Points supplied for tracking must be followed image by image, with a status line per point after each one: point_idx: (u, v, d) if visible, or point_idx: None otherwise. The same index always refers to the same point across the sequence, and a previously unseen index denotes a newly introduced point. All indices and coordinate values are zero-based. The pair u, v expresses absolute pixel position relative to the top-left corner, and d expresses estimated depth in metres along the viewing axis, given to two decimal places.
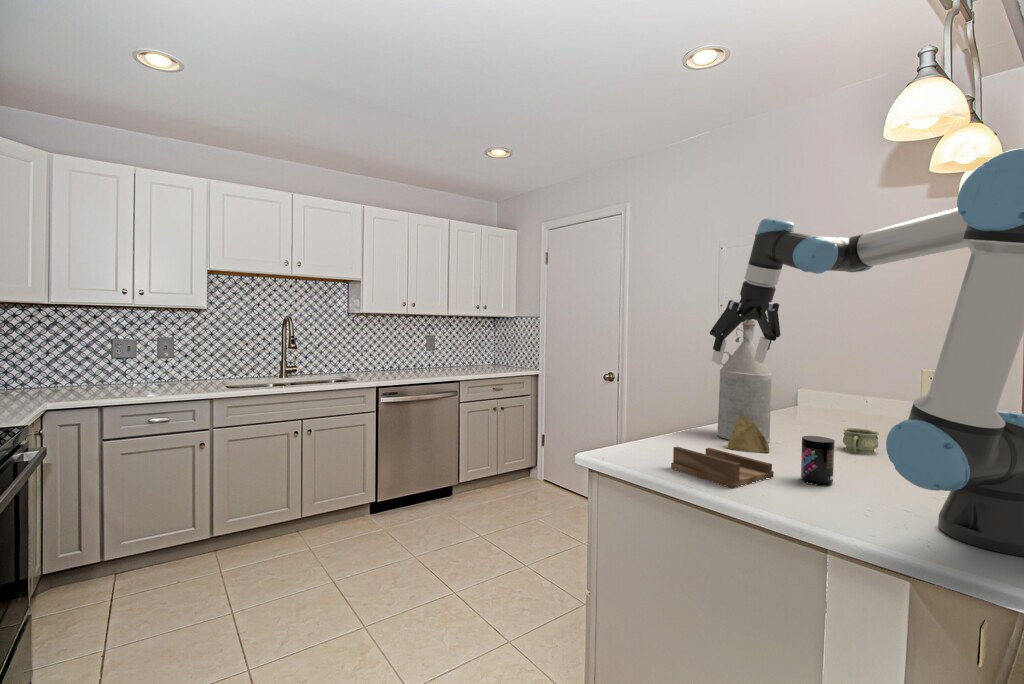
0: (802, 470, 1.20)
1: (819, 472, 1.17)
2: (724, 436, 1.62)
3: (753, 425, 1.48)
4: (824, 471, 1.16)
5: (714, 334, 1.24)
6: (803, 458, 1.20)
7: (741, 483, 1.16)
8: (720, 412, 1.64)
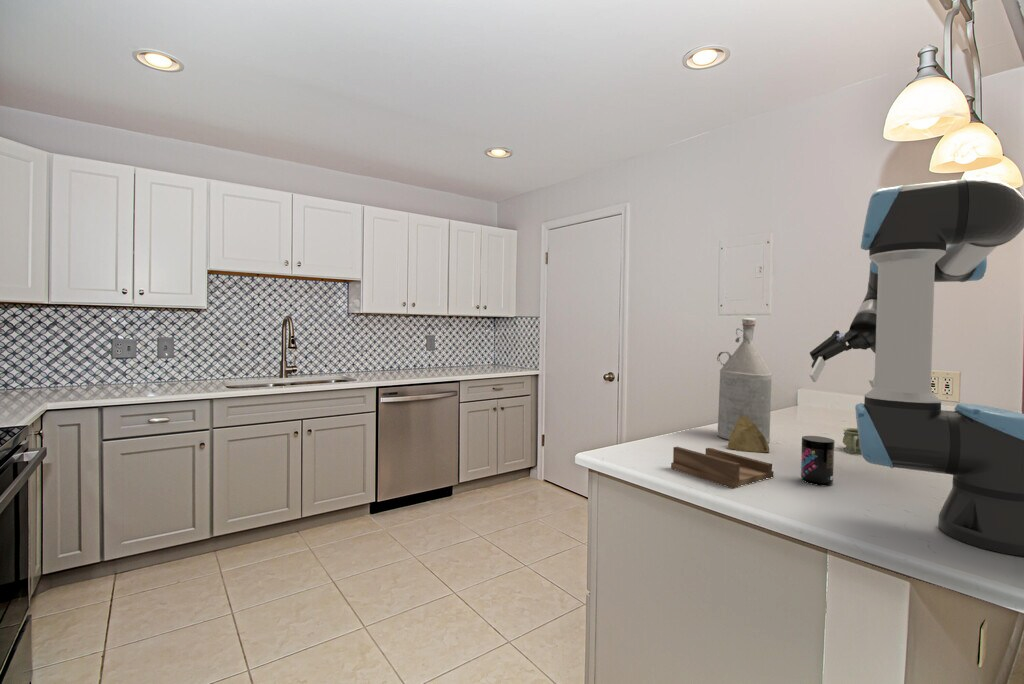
0: (802, 470, 1.20)
1: (819, 472, 1.17)
2: (724, 436, 1.62)
3: (753, 425, 1.48)
4: (824, 471, 1.16)
5: None
6: (803, 458, 1.20)
7: (741, 483, 1.16)
8: (720, 412, 1.64)
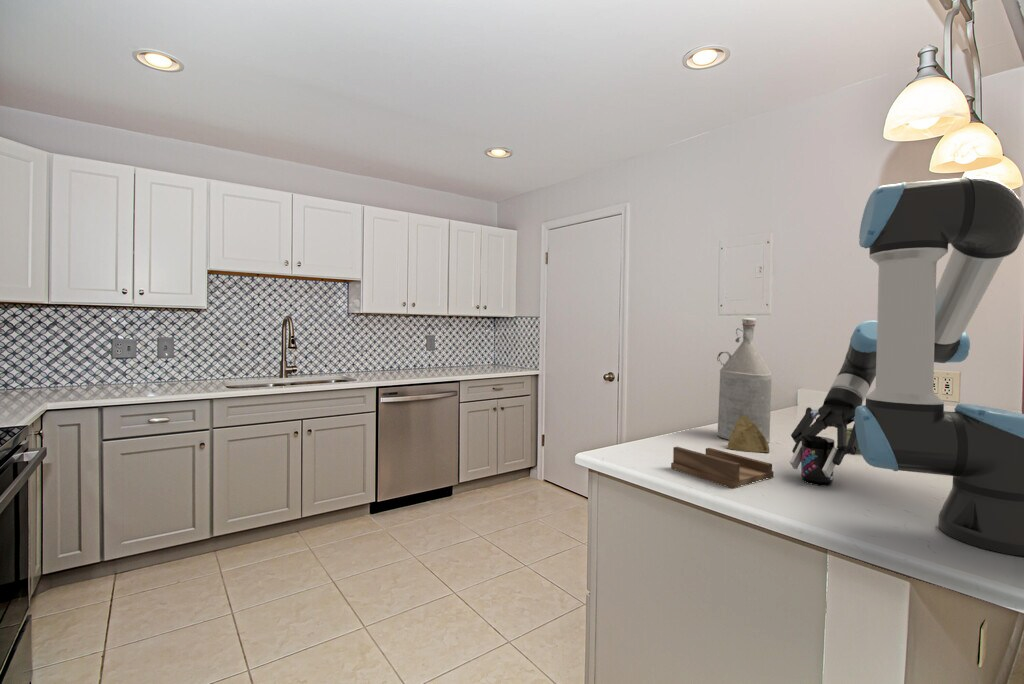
0: (802, 470, 1.20)
1: (819, 472, 1.17)
2: (724, 436, 1.62)
3: (753, 425, 1.48)
4: None
5: None
6: (803, 458, 1.20)
7: (741, 483, 1.16)
8: (720, 412, 1.64)
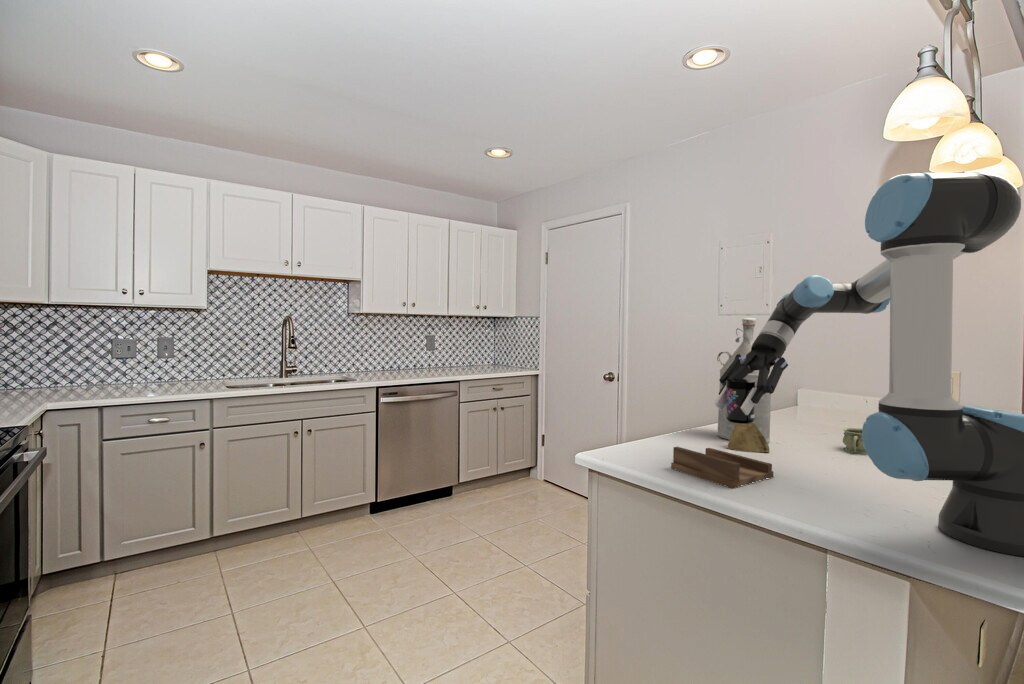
0: (726, 410, 1.27)
1: (740, 411, 1.23)
2: (724, 436, 1.62)
3: (753, 425, 1.48)
4: None
5: None
6: (727, 399, 1.26)
7: (741, 483, 1.16)
8: (720, 412, 1.64)
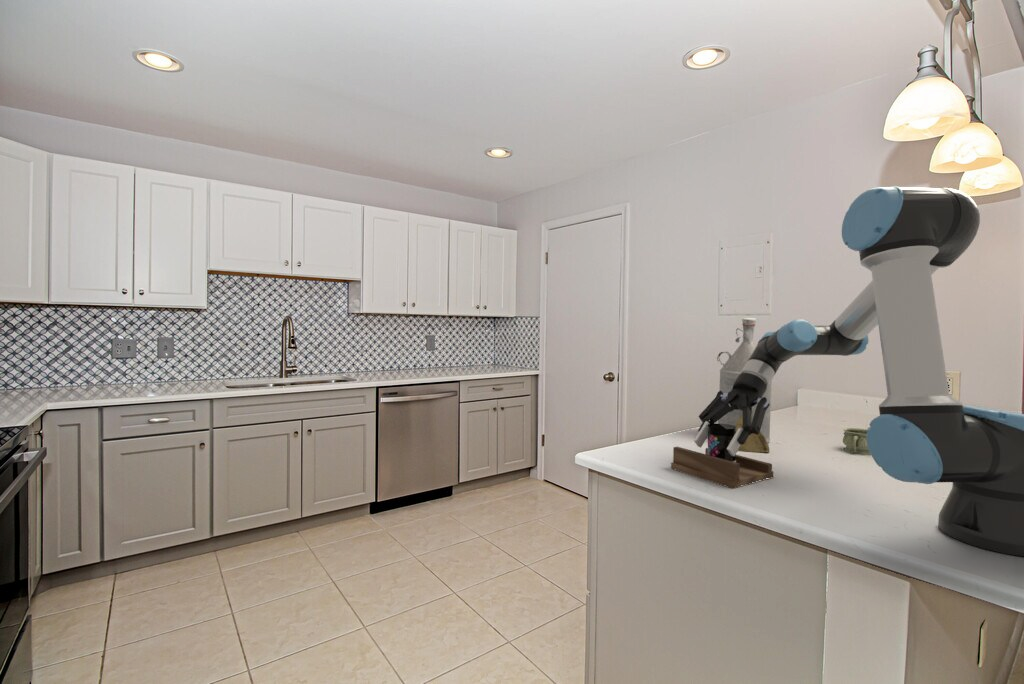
0: None
1: (721, 457, 1.23)
2: None
3: None
4: (726, 456, 1.23)
5: None
6: (708, 444, 1.26)
7: (741, 483, 1.16)
8: None
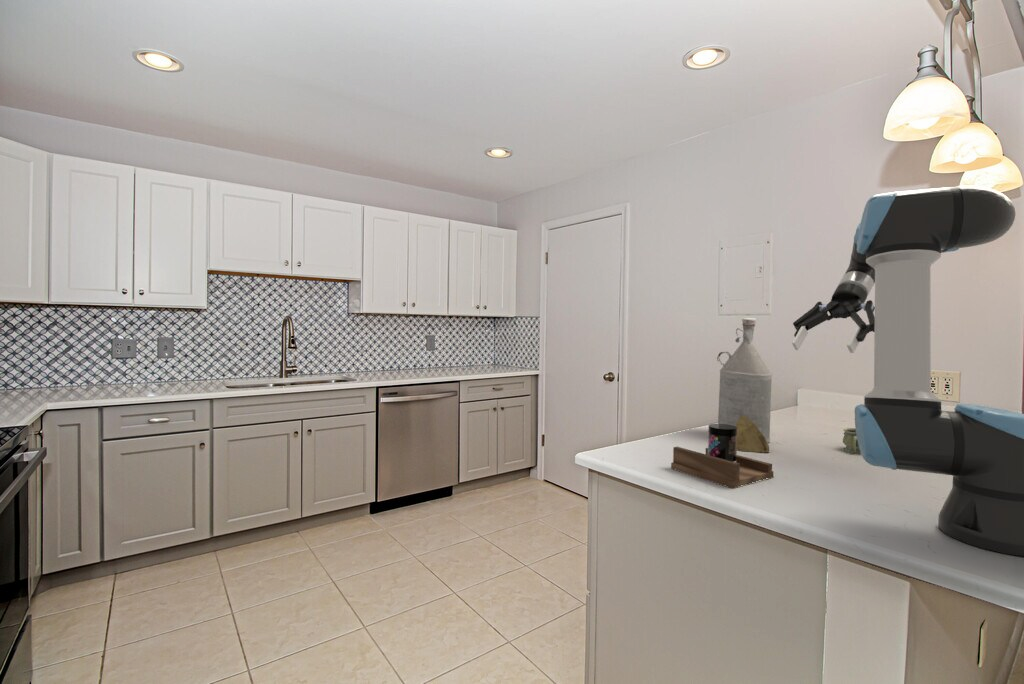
0: None
1: (721, 457, 1.23)
2: None
3: (753, 425, 1.48)
4: (726, 456, 1.23)
5: None
6: (709, 444, 1.26)
7: (741, 483, 1.16)
8: (720, 412, 1.64)
